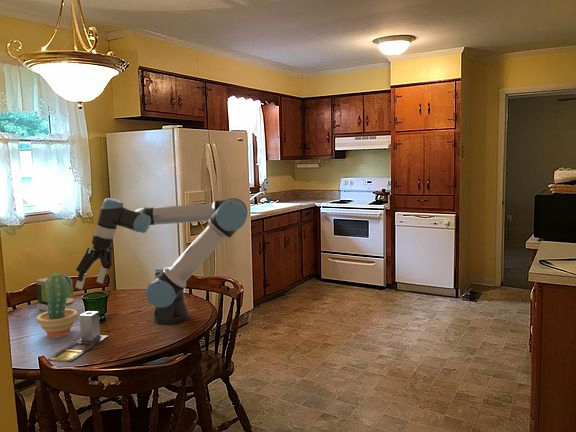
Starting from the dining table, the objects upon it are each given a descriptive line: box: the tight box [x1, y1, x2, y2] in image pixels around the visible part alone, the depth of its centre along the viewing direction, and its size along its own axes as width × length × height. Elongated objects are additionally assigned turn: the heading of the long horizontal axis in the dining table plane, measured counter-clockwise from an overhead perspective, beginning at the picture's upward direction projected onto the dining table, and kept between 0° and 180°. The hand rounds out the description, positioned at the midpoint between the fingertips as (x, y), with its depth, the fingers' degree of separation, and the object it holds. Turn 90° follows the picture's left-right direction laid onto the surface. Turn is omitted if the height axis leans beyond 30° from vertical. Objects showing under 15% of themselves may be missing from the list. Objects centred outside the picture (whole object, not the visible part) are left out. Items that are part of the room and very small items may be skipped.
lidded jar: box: [65, 298, 75, 310], centre depth 218 cm, size 11×11×9 cm
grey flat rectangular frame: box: [47, 334, 109, 363], centre depth 184 cm, size 10×24×1 cm, turn 170°
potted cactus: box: [35, 272, 78, 338], centre depth 198 cm, size 15×15×25 cm
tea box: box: [35, 277, 75, 312], centre depth 231 cm, size 15×10×15 cm
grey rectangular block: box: [78, 310, 101, 343], centre depth 190 cm, size 5×5×11 cm
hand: (89, 285), depth 198 cm, fingers open, 13 cm apart
